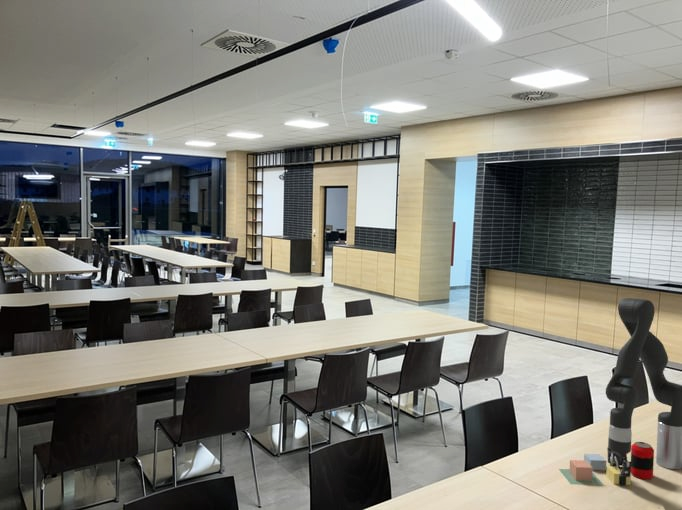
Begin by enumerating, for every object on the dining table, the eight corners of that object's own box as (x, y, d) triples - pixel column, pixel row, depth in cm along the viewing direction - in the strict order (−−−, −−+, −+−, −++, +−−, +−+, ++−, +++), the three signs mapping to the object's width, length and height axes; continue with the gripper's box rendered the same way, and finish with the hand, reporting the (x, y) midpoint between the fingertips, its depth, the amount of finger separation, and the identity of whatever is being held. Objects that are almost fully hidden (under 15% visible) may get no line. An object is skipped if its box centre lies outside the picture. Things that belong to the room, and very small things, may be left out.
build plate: (590, 472, 205) (590, 469, 205) (603, 487, 193) (604, 485, 193) (558, 471, 206) (558, 468, 206) (570, 486, 194) (570, 484, 194)
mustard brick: (622, 479, 200) (622, 466, 199) (630, 487, 194) (630, 474, 193) (606, 479, 200) (606, 466, 200) (613, 486, 194) (614, 473, 194)
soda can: (650, 472, 206) (651, 442, 205) (655, 481, 198) (656, 450, 198) (628, 469, 208) (629, 439, 207) (632, 478, 201) (633, 447, 200)
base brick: (585, 473, 202) (585, 460, 202) (592, 480, 196) (592, 467, 196) (569, 472, 203) (569, 460, 202) (575, 480, 197) (576, 467, 196)
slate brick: (598, 466, 211) (599, 454, 211) (605, 473, 205) (606, 460, 205) (583, 465, 211) (584, 453, 211) (590, 472, 205) (590, 460, 205)
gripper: (640, 445, 189) (638, 491, 189) (620, 430, 203) (619, 472, 204) (618, 444, 189) (616, 490, 190) (600, 429, 203) (599, 472, 204)
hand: (618, 481), depth 197 cm, fingers closed on mustard brick, 6 cm apart
